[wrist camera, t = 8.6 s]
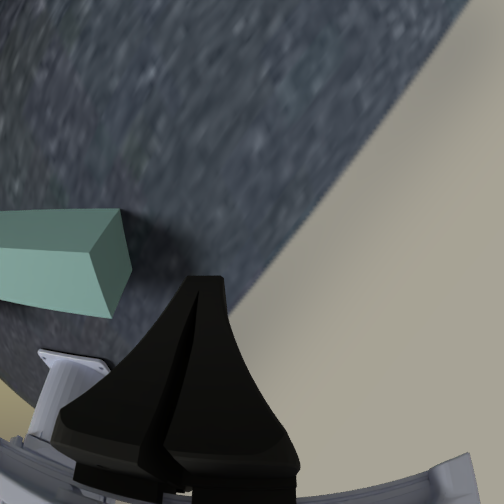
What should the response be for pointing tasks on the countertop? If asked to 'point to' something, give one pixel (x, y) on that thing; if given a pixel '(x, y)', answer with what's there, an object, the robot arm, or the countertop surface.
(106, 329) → the countertop surface
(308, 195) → the countertop surface
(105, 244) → the mint green rectangular prism
